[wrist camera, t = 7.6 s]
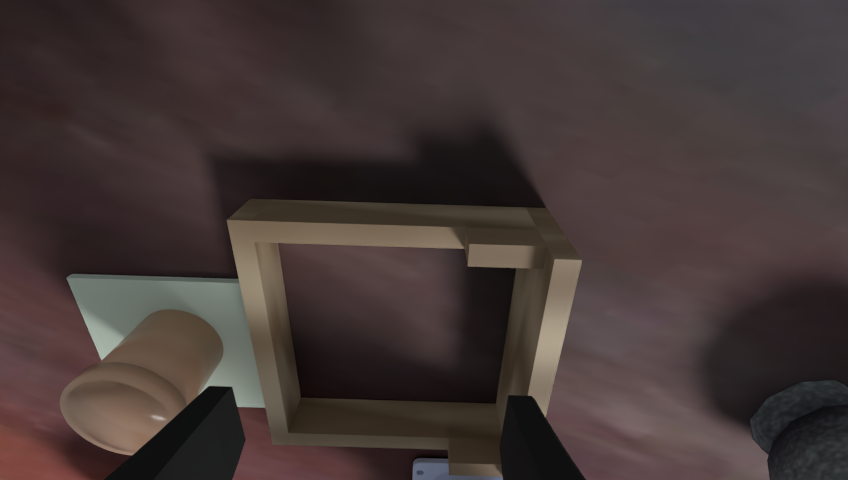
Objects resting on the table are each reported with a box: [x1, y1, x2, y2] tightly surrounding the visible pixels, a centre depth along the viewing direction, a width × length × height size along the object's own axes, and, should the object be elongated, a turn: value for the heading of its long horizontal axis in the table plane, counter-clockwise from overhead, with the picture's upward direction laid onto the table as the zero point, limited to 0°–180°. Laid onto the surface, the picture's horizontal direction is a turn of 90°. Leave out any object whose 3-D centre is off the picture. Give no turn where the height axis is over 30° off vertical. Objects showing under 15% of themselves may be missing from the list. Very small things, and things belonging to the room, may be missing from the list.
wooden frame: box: [227, 199, 582, 477], centre depth 20 cm, size 14×14×5 cm
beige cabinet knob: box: [60, 309, 224, 455], centre depth 20 cm, size 5×5×5 cm
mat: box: [66, 274, 265, 408], centre depth 23 cm, size 9×9×1 cm
